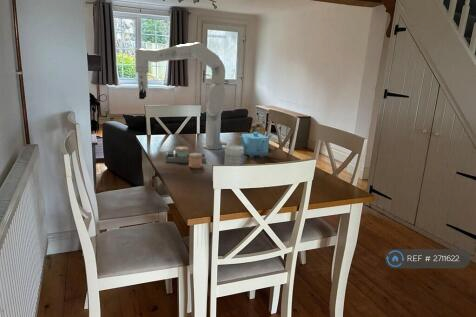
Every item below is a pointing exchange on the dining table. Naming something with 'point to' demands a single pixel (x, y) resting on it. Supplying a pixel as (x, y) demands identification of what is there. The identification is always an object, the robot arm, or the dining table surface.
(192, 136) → the dining table surface
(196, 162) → the terracotta jar
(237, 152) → the supplement tub
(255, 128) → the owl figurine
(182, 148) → the sage jar
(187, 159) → the tray
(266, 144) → the teakettle
